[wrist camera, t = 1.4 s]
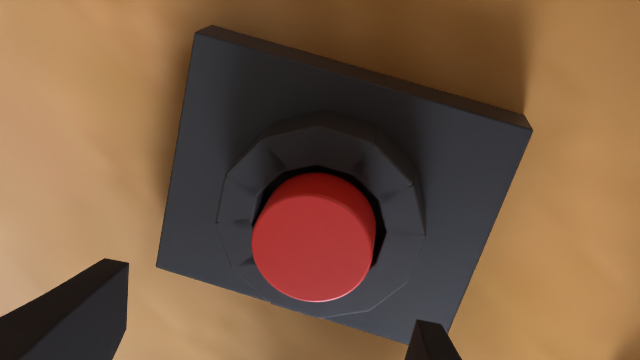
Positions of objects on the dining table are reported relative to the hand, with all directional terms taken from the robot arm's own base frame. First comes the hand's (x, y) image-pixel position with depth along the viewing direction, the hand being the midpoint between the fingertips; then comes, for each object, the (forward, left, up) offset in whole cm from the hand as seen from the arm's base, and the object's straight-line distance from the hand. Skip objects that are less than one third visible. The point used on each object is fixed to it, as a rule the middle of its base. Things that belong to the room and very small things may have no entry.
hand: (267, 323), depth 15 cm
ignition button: (-1, 0, -5) cm, 5 cm away
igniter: (-1, 0, -8) cm, 8 cm away
